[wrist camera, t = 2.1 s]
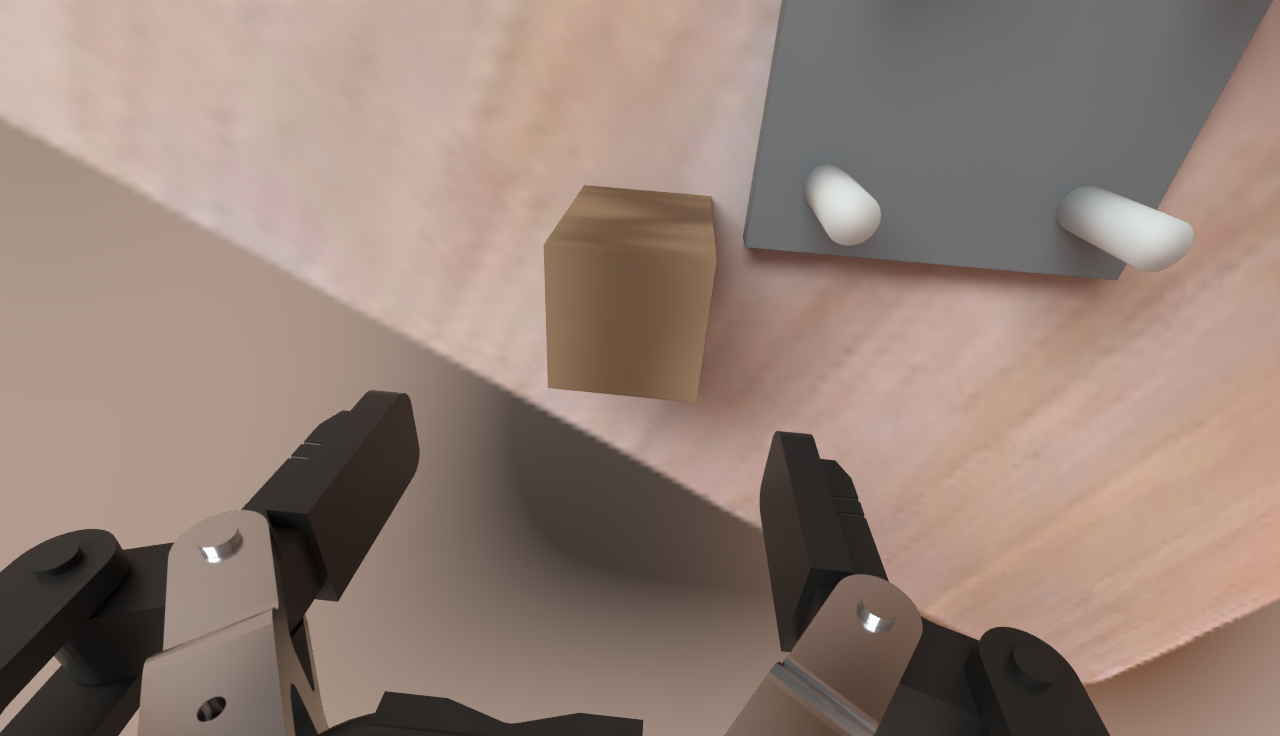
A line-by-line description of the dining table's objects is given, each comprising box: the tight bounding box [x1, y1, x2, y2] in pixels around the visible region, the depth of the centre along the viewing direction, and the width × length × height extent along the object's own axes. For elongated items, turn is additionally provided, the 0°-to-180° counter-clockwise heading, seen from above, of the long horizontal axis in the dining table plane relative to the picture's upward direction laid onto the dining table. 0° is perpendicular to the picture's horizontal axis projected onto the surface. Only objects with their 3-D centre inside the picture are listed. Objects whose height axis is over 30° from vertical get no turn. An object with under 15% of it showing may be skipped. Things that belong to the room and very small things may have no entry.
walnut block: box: [544, 185, 717, 403], centre depth 20 cm, size 5×5×7 cm
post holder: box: [743, 0, 1273, 280], centre depth 16 cm, size 14×14×5 cm
